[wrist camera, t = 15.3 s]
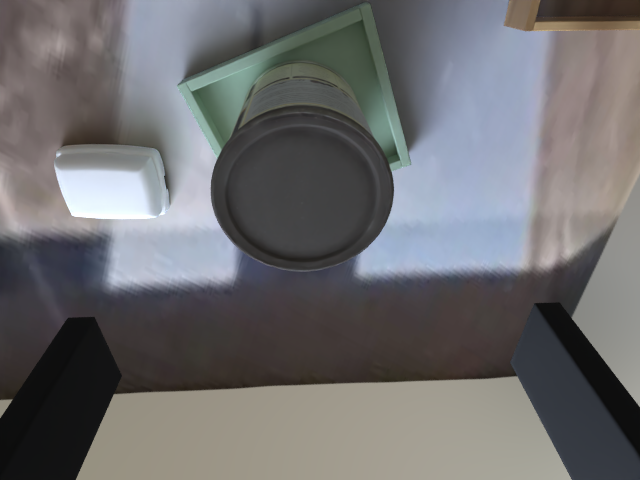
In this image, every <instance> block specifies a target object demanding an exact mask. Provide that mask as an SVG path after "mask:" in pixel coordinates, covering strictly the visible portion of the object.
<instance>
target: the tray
mask: <svg viewBox="0 0 640 480" xmlns="http://www.w3.org/2000/svg"><path fill="white" fill-rule="evenodd" d="M291 60H310V61H315V62H318V63H321V64H324V65H326V66H329V67H330V68H332V69H333V70H335V71H336V72H337V73H339V74H340V75H341V76H342V77H343V78H344V79H345V80H346V81H347V82H348V84H349V85H350V86H351V88H352V90H353V91H354V93H355V95H356V98H357V100H358V103H359V106H360V108H361V110H362V113H363V115H364V116H365V119H366V121H367V123H368V125H369V127H370V129H371V131H372V134H373V136H374V138H375V140H376V141H377V142H378V144H379V145H380V147H381V148H382V150H383V151H384V153H385V155H386V158H387V160H388V162H389V165H390V168H391V171H394V170H397V169H400V168H402V167H406V166H408V165H411V161H410V157H409V153H408V150H407V146H406V142H405V138H404V134H403V130H402V126H401V122H400V118H399V114H398V110H397V106H396V103H395V99H394V95H393V91H392V87H391V83H390V79H389V75H388V71H387V67H386V63H385V59H384V55H383V52H382V48H381V44H380V40H379V36H378V32H377V28H376V24H375V20H374V16H373V12H372V8H371V5H370V3H367V2H364V3H362V4H360V5H357V6H355V7H353V8H350V9H348V10H346V11H343V12H341V13H338V14H336V15H334V16H331V17H329V18H327V19H324V20H322V21H320V22H317V23H315V24H313V25H310V26H308V27H306V28H303V29H301V30H299V31H296V32H294V33H292V34H289V35H287V36H285V37H282V38H280V39H277V40H275V41H273V42H270V43H268V44H266V45H263V46H261V47H259V48H256V49H254V50H252V51H249V52H247V53H245V54H242V55H240V56H238V57H235V58H233V59H231V60H228V61H226V62H223V63H221V64H219V65H216V66H214V67H212V68H209V69H207V70H205V71H202V72H200V73H198V74H195V75H193V76H191V77H188V78H186V79H184V80H182V81H181V82H180V83H179V84H178V85H177V87H178V89H179V91H180V92H181V94H182V96H183V98H184V100H185V101H186V103H187V105H188V107H189V109H190V111H191V112H192V114H193V116H194V118H195V120H196V121H197V123H198V125H199V127H200V129H201V130H202V132H203V134H204V136H205V138H206V139H207V141H208V143H209V145H210V147H211V148H212V150H213V152H214V154H215V156H216V157H217V159H218V157H219V155H220V152H221V151H222V149H223V147H224V146H225V144H226V142H227V141H228V140H229V137H230V135H231V133H232V130H233V128H234V126H235V123H236V121H237V118H238V116H239V114H240V112H241V109H242V107H243V103H244V100H245V96H246V94H247V92H248V90H249V89H250V87H251V85H252V84H253V83H254V81H255V80H256V79H257V78H258V77H259V76H260V75H261V74H262V73H264V72H265V71H266V70H267V69H269V68H271V67H273V66H275V65H276V64H279V63H283V62H286V61H291Z"/></svg>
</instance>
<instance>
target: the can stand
mask: <svg viewBox="0 0 640 480" xmlns="http://www.w3.org/2000/svg"><path fill="white" fill-rule="evenodd" d="M540 1H541V0H509V5H508V9H507V14H506V18H505V22H504V26H507V27H511V28H515V29H519V30H523V31H578V30H640V16H558V17H536V16H537V12H538V8H539V5H540Z"/></svg>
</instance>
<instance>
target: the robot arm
mask: <svg viewBox="0 0 640 480" xmlns="http://www.w3.org/2000/svg"><path fill="white" fill-rule="evenodd" d="M510 363H511V365H512V367H513V368H514V370H515V372H516V374H517V376H518V378H519V380H520V382H521V384H522V386H523V388H524V389H525V391H526V393H527V395H528V397H529V399H530V401H531V403H532V405H533V407H534V408H535V410H536V412H537V414H538V416H539V418H540V420H541V422H542V424H543V425H544V427H545V429H546V431H547V433H548V435H549V437H550V439H551V440H552V443H553V445H554V447H555V448H556V450H557V452H558V454H559V456H560V458H561V460H562V462H563V464H564V465H565V467H566V469H567V471H568V473H569V475H570V477H571V479H572V480H640V407H639V406H638V404H637V403H636V402H635V400H634V399H633V398H632V397H631V395H630V394H629V393H628V391H627V390H626V389H625V387H624V386H623V385H622V383H621V382H620V381H619V380H618V378H617V377H616V376H615V374H614V373H613V372H612V371H611V369H610V368H609V367H608V365H607V364H606V363H605V361H604V360H603V359H602V358H601V356H600V355H599V354H598V352H597V351H596V350H595V348H594V347H593V346H592V344H591V343H590V342H589V341H588V339H587V338H586V337H585V335H584V334H583V333H582V331H581V330H580V329H579V327H578V326H577V325H576V323H575V322H574V321H573V320H572V318H571V317H570V316H569V314H568V313H567V312H566V310H565V309H564V308H563V307H562V305H561V304H560V303H534V306H533V308H532V311H531V313H530V315H529V318H528V320H527V323H526V325H525V328H524V330H523V333H522V335H521V338H520V340H519V342H518V345H517V347H516V350H515V352H514V355H513V357H512V360H511V362H510ZM121 377H122V375H121V373H120V371H119V369H118V367H117V364H116V362H115V360H114V358H113V356H112V354H111V352H110V349H109V347H108V345H107V343H106V341H105V339H104V337H103V334H102V332H101V330H100V328H99V326H98V324H97V322H96V319H95V317H79V318H68V319H67V320H66V322H65V323H64V324H63V326H62V327H61V329H60V330H59V332H58V333H57V335H56V336H55V338H54V339H53V341H52V342H51V344H50V345H49V347H48V348H47V350H46V351H45V353H44V354H43V356H42V357H41V359H40V360H39V362H38V363H37V365H36V366H35V368H34V369H33V370H32V372H31V373H30V375H29V376H28V378H27V379H26V381H25V382H24V384H23V385H22V387H21V388H20V390H19V391H18V393H17V394H16V396H15V397H14V399H13V400H12V402H11V403H10V405H9V406H8V408H7V409H6V411H5V412H4V414H3V415H2V417H1V418H0V480H76V478H77V476H78V473H79V471H80V469H81V467H82V464H83V462H84V460H85V457H86V455H87V453H88V451H89V449H90V446H91V444H92V442H93V440H94V437H95V435H96V433H97V431H98V428H99V426H100V423H101V421H102V419H103V417H104V415H105V413H106V410H107V408H108V406H109V404H110V401H111V399H112V397H113V395H114V392H115V390H116V388H117V386H118V383H119V381H120V379H121Z"/></svg>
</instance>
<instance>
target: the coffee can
mask: <svg viewBox="0 0 640 480" xmlns="http://www.w3.org/2000/svg"><path fill="white" fill-rule="evenodd" d="M393 196H394V184H393V177H392V172H391V168H390V165H389V162H388V160H387V158H386V155H385V153H384V151H383V150H382V148H381V147H380V145H379V144H378V142H377V141H376V140H375V138H374V136H373V134H372V131H371V129H370V127H369V125H368V123H367V121H366V119H365V116H364V115H363V113H362V110H361V108H360V106H359V103H358V100H357V98H356V95H355V93H354V91H353V90H352V88H351V86H350V85H349V84H348V82H347V81H346V80H345V79H344V78H343V77H342V76H341V75H340V74H339V73H337V72H336V71H335V70H333V69H332V68H330V67H329V66H326V65H324V64H321V63H318V62H315V61H310V60H291V61H286V62H283V63H279V64H276V65H275V66H273V67H271V68H269V69H267V70H266V71H265V72H264V73H262V74H261V75H260V76H259V77H258V78H257V79H256V80H255V81H254V83H253V84H252V85H251V87H250V89H249V90H248V92H247V94H246V96H245V100H244V103H243V107H242V109H241V112H240V114H239V116H238V118H237V121H236V123H235V126H234V128H233V130H232V133H231V135H230V137H229V140H228V141H227V142H226V144H225V146H224V147H223V149H222V151H221V152H220V155H219V157H218V159H217V161H216V164H215V166H214V170H213V174H212V180H211V201H212V206H213V210H214V213H215V216H216V218H217V221H218V223H219V225H220V226H221V228H222V230H223V231H224V233H225V234H226V235H227V237H228V238H229V239H230V240H231V241H232V243H233V244H234V245H235V246H236V247H238V248H239V249H240V250H241V251H242V252H244V253H245V254H246V255H248V256H249V257H251V258H253V259H254V260H256V261H259V262H261V263H263V264H265V265H268V266H272V267H275V268H279V269H283V270H289V271H316V270H322V269H326V268H330V267H333V266H336V265H338V264H341V263H344V262H346V261H348V260H350V259H352V258H353V257H355V256H356V255H358V254H360V253H361V252H362V251H363V250H365V249H366V248H367V247H368V246H369V245H370V244H371V243H372V242H373V241H374V240H375V239H376V237H377V236H378V235H379V234H380V232H381V231H382V229H383V227H384V226H385V224H386V222H387V219H388V217H389V214H390V211H391V208H392V203H393Z"/></svg>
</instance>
